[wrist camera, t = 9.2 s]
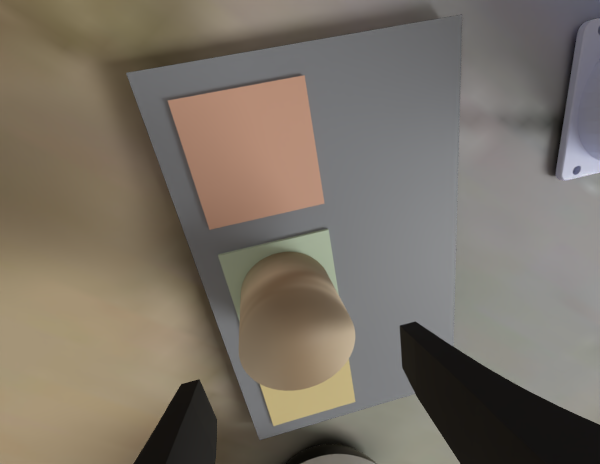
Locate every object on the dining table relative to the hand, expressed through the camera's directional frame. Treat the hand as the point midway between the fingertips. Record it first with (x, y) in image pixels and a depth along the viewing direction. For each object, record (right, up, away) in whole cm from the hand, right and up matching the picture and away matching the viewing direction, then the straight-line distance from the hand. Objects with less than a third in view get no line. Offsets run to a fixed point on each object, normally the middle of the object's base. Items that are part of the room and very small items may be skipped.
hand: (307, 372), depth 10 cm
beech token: (-1, +2, +5) cm, 6 cm away
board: (+2, +3, +7) cm, 8 cm away
